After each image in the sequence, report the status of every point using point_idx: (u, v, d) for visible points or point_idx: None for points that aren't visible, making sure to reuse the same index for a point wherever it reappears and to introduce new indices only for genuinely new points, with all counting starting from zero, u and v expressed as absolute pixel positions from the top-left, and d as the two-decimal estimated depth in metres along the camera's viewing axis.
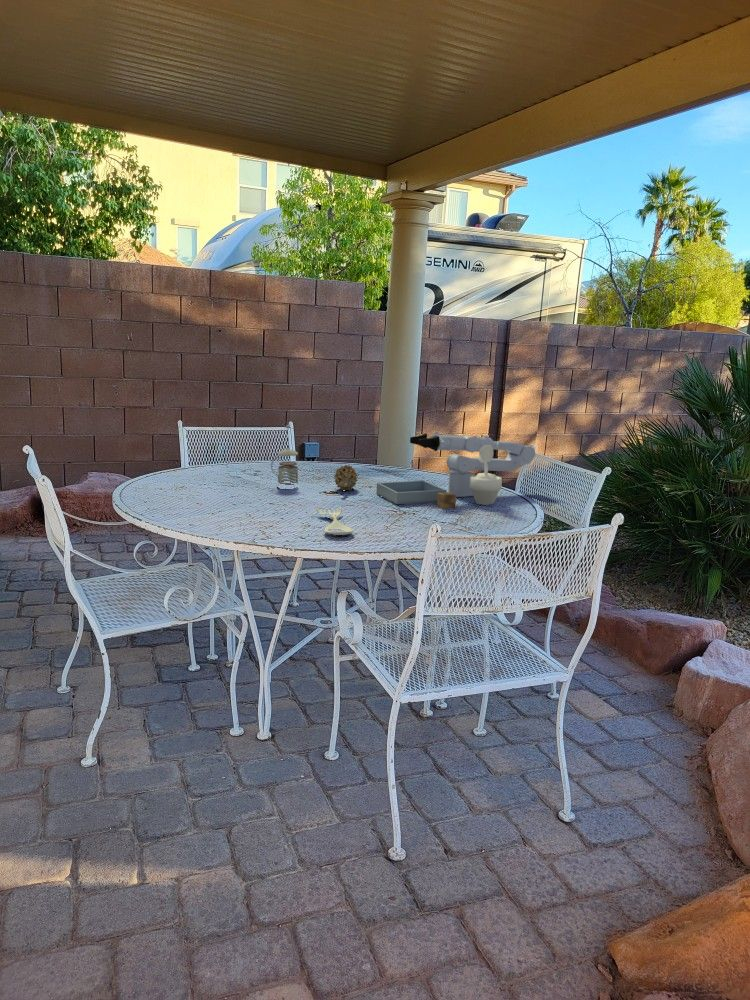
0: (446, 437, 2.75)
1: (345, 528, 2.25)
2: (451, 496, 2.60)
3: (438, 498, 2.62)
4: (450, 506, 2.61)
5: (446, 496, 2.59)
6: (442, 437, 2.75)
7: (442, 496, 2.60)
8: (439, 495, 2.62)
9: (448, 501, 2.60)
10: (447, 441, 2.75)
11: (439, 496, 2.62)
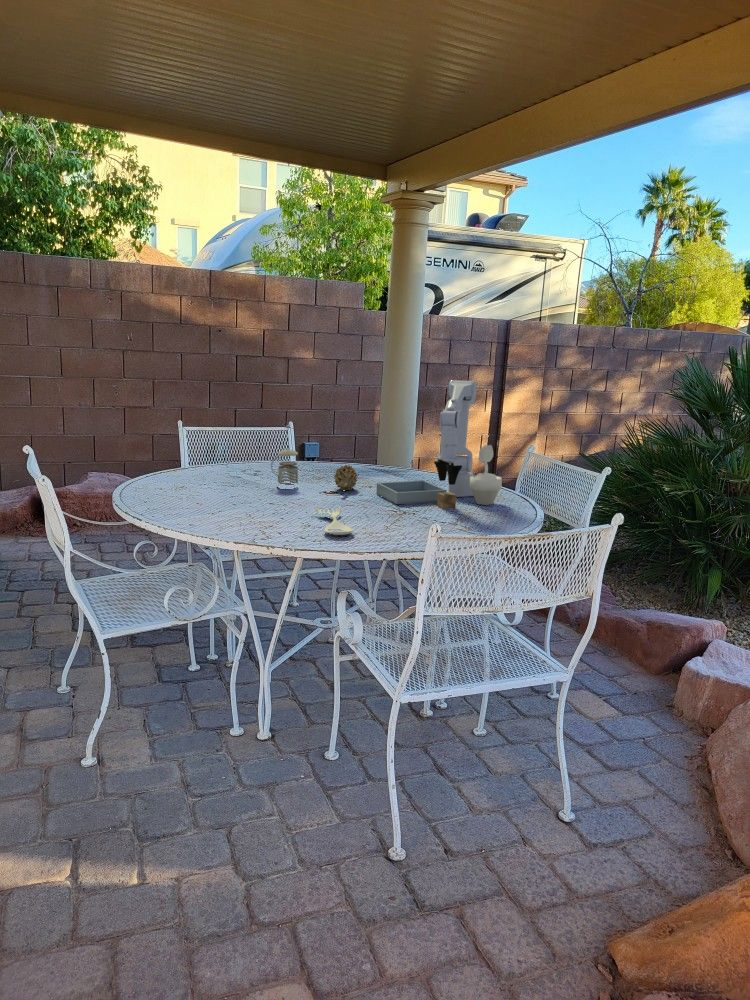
0: (445, 449, 2.56)
1: (345, 528, 2.25)
2: (451, 496, 2.60)
3: (438, 498, 2.62)
4: (450, 506, 2.61)
5: (446, 496, 2.59)
6: (445, 454, 2.56)
7: (442, 496, 2.60)
8: (439, 495, 2.62)
9: (448, 501, 2.60)
10: (450, 449, 2.56)
11: (439, 496, 2.62)
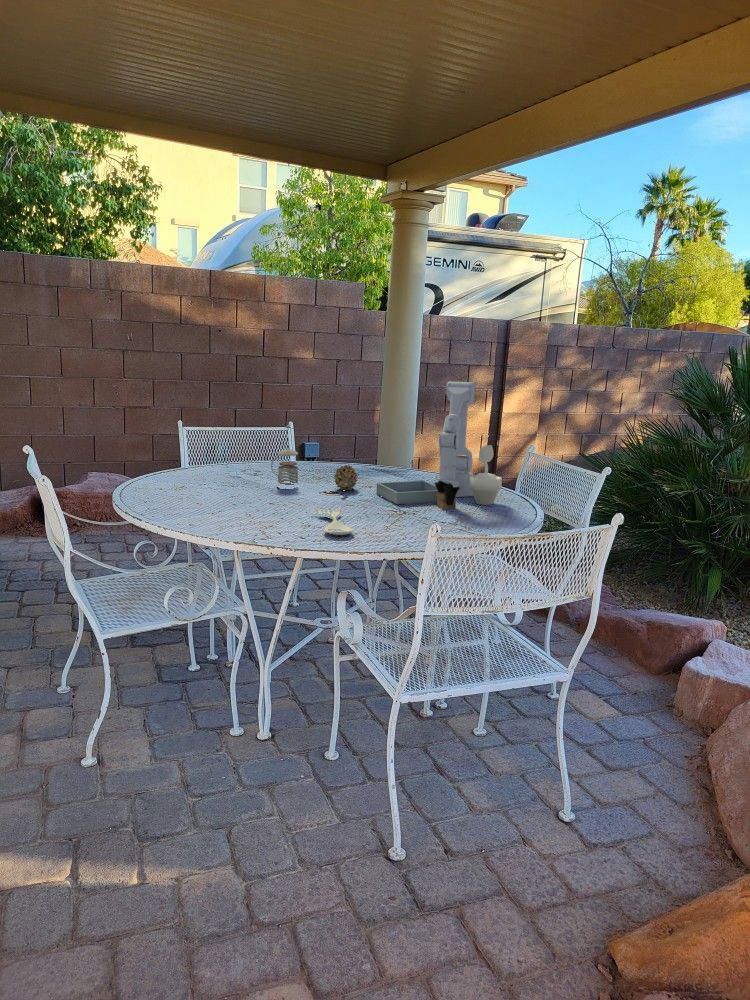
0: (444, 470, 2.58)
1: (345, 528, 2.25)
2: None
3: (438, 497, 2.62)
4: (450, 506, 2.61)
5: None
6: (444, 475, 2.58)
7: (442, 496, 2.60)
8: (439, 495, 2.62)
9: None
10: (449, 471, 2.57)
11: (439, 495, 2.61)
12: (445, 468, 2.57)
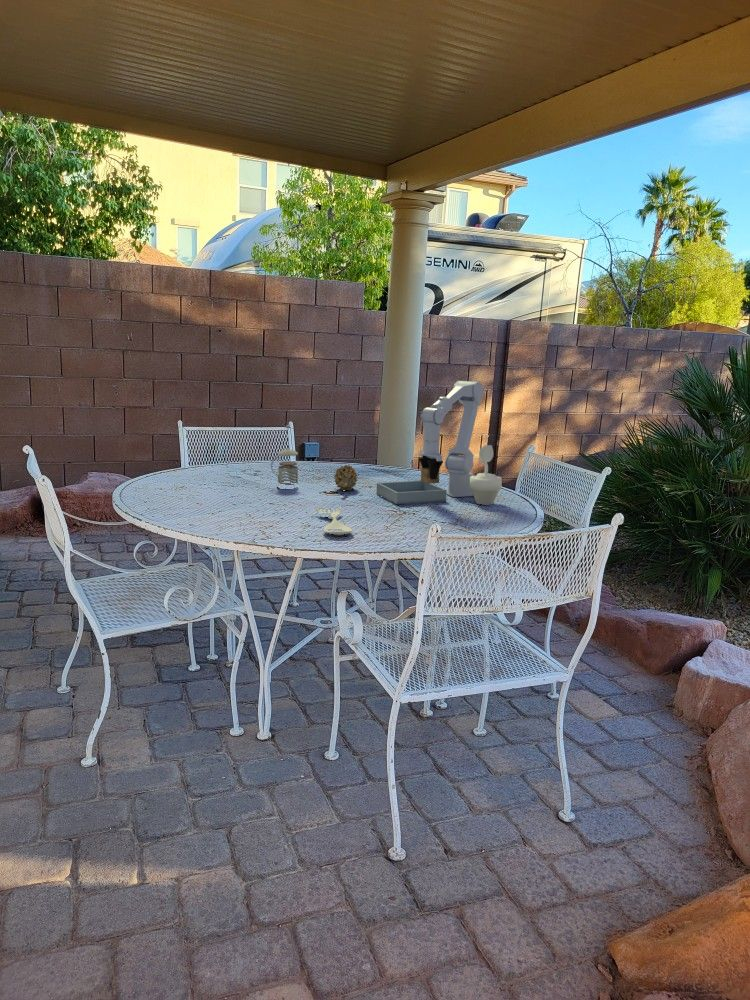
0: (428, 445, 2.63)
1: (345, 528, 2.25)
2: None
3: (422, 472, 2.67)
4: (434, 480, 2.66)
5: None
6: (428, 450, 2.63)
7: (426, 471, 2.64)
8: (423, 470, 2.67)
9: None
10: (432, 445, 2.62)
11: (423, 470, 2.66)
12: (429, 443, 2.62)
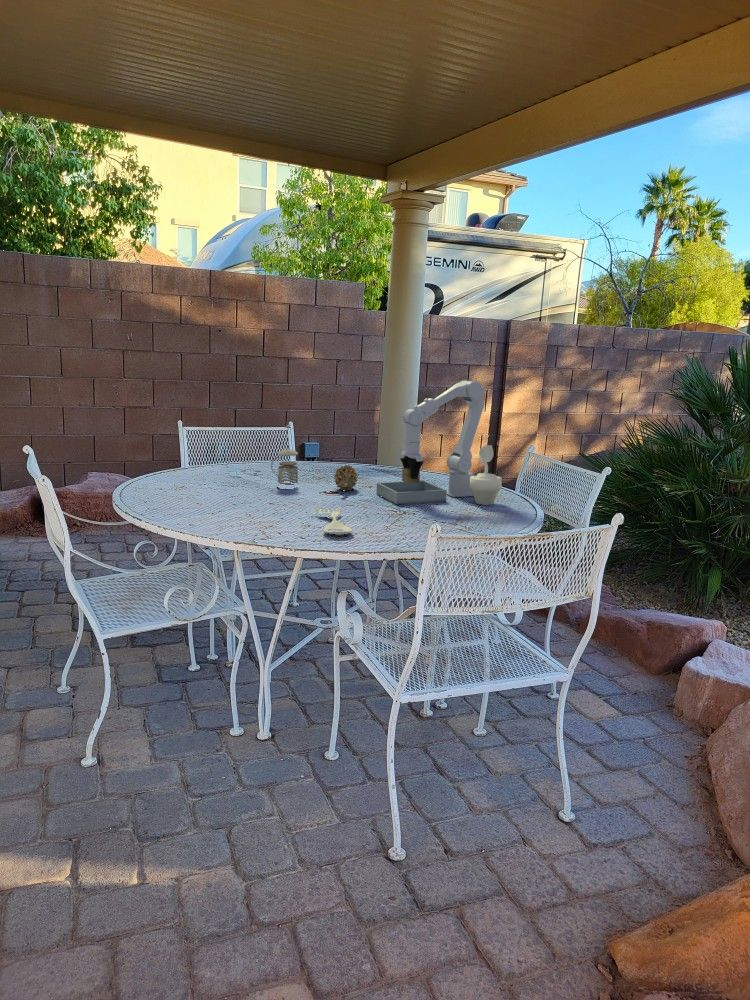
0: (408, 446, 2.71)
1: (345, 528, 2.25)
2: None
3: (403, 472, 2.75)
4: (414, 480, 2.73)
5: None
6: (408, 450, 2.71)
7: (406, 470, 2.72)
8: (404, 470, 2.75)
9: None
10: (413, 446, 2.70)
11: (404, 470, 2.74)
12: (409, 443, 2.70)
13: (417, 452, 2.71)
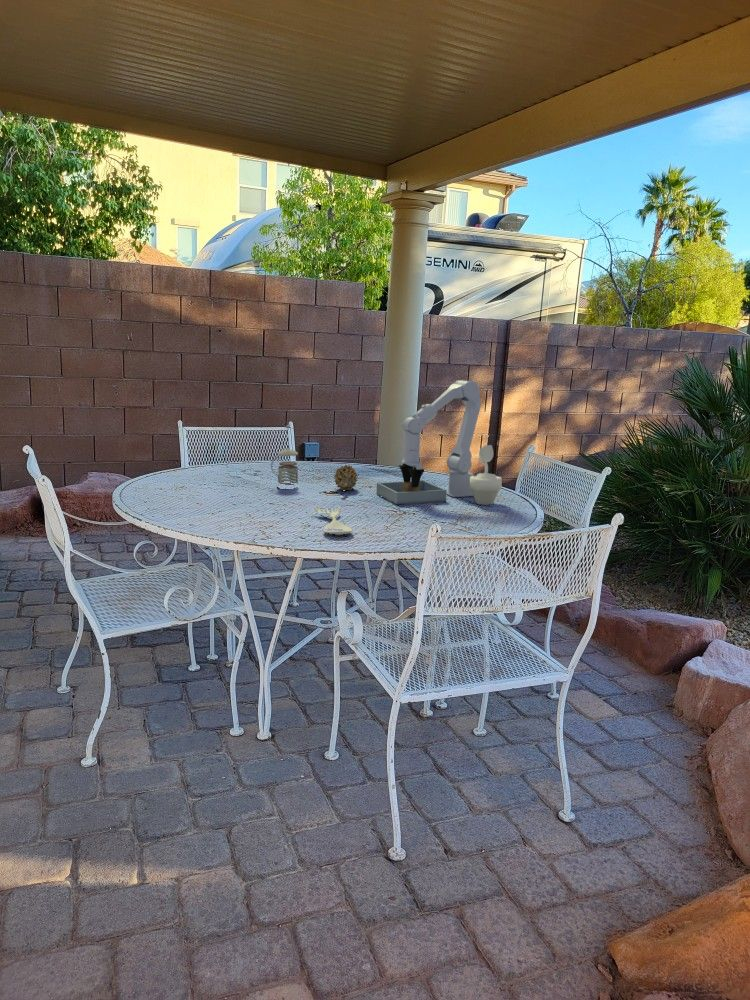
0: (408, 454, 2.71)
1: (345, 528, 2.25)
2: None
3: (403, 487, 2.76)
4: None
5: (410, 485, 2.73)
6: (408, 458, 2.72)
7: (406, 485, 2.74)
8: (403, 484, 2.76)
9: (412, 490, 2.74)
10: (413, 454, 2.71)
11: (404, 485, 2.76)
12: (409, 451, 2.71)
13: (417, 460, 2.72)
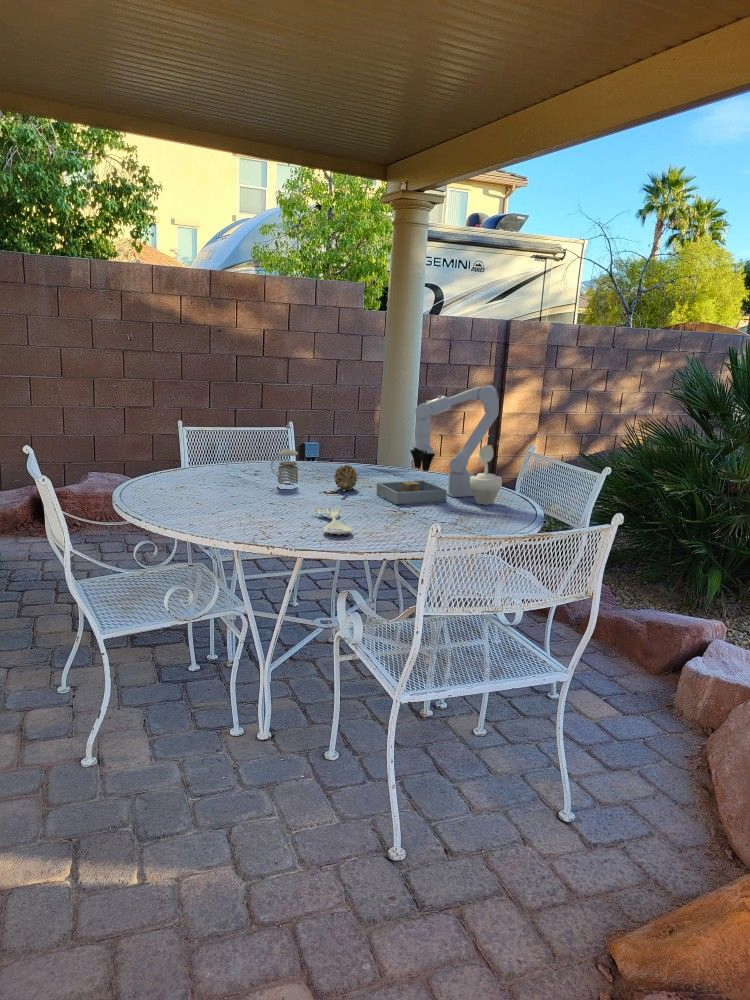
0: (419, 438, 2.80)
1: (344, 528, 2.25)
2: (415, 485, 2.74)
3: (403, 487, 2.76)
4: None
5: (410, 485, 2.73)
6: (419, 443, 2.81)
7: (406, 485, 2.74)
8: (403, 484, 2.76)
9: (412, 490, 2.74)
10: (424, 439, 2.80)
11: (404, 485, 2.76)
12: (420, 436, 2.80)
13: (427, 444, 2.81)
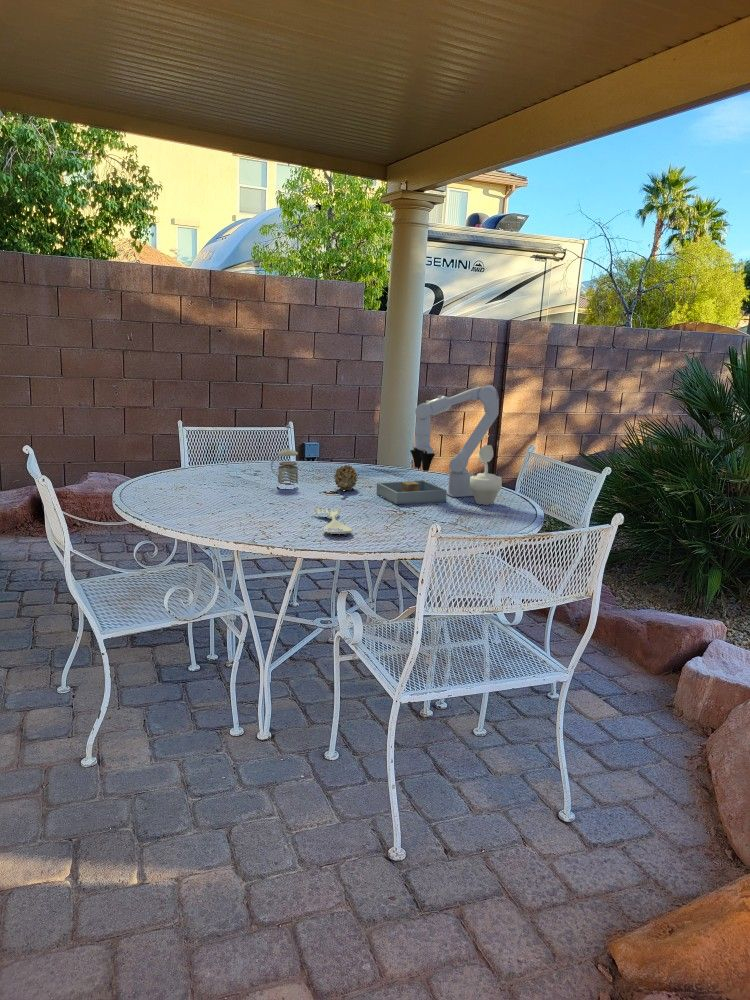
0: (419, 438, 2.80)
1: (344, 528, 2.25)
2: (415, 485, 2.74)
3: (403, 487, 2.76)
4: None
5: (410, 485, 2.73)
6: (419, 443, 2.81)
7: (406, 485, 2.74)
8: (403, 484, 2.76)
9: (412, 490, 2.74)
10: (424, 439, 2.80)
11: (404, 485, 2.76)
12: (420, 436, 2.80)
13: (427, 444, 2.81)
